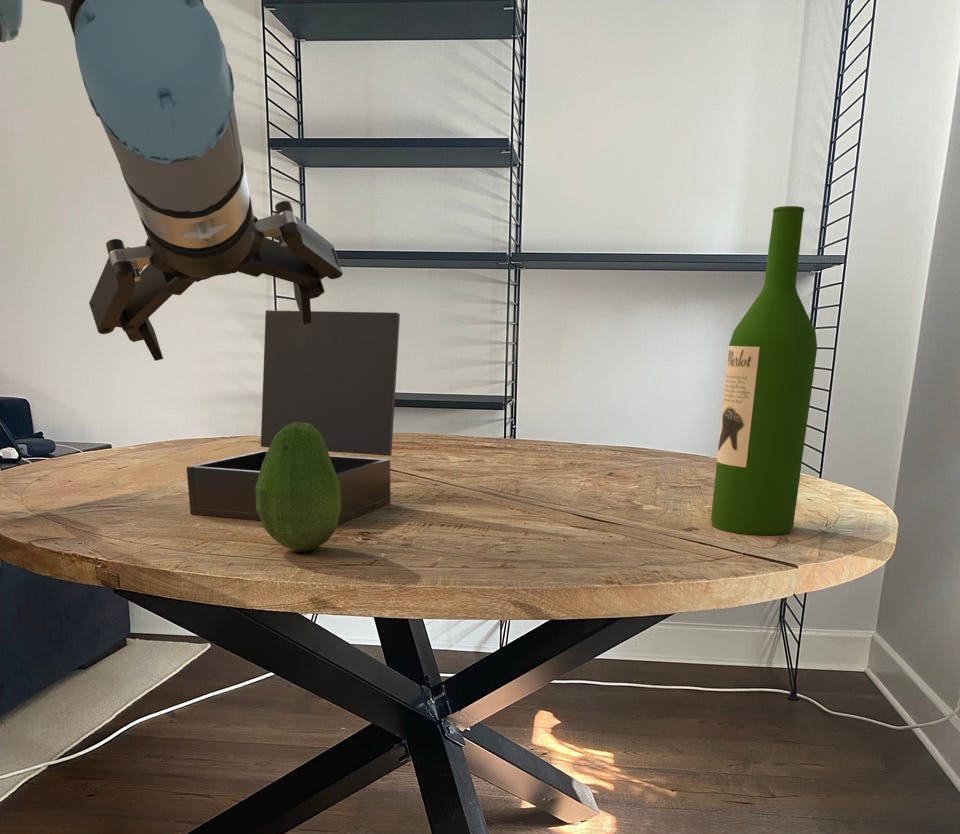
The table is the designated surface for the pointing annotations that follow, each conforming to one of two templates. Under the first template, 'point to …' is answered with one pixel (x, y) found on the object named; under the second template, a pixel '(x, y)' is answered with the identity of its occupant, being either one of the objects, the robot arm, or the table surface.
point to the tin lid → (332, 377)
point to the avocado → (298, 489)
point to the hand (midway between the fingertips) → (230, 327)
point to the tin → (235, 478)
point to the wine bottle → (767, 397)
